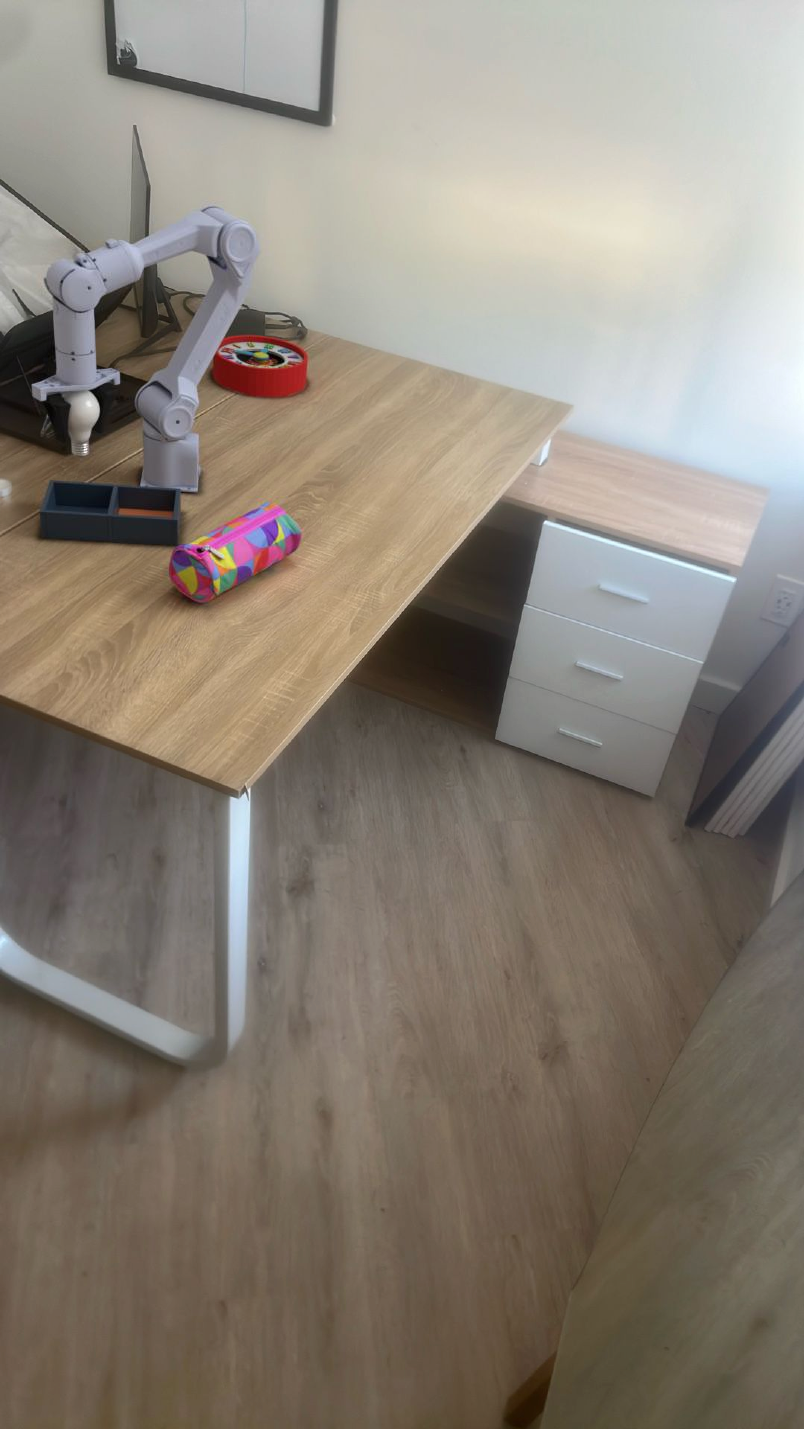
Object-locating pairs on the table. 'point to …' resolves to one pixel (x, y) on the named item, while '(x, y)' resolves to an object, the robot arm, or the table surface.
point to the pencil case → (233, 552)
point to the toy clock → (260, 366)
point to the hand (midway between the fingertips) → (80, 435)
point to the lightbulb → (81, 419)
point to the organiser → (111, 513)
